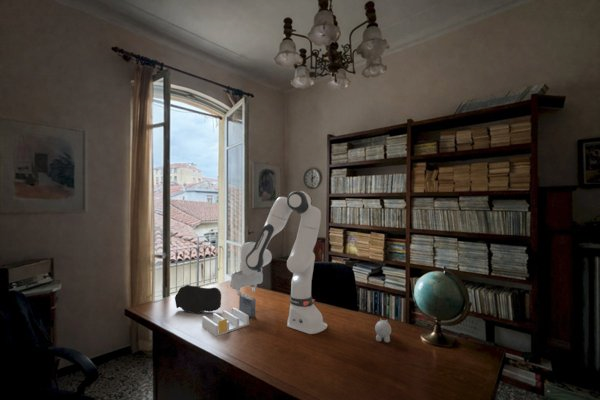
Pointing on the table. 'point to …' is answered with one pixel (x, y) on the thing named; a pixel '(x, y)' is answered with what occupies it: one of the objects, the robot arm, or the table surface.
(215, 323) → the rack
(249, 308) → the blanking panel
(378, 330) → the toy rhinoceros
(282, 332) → the table surface
